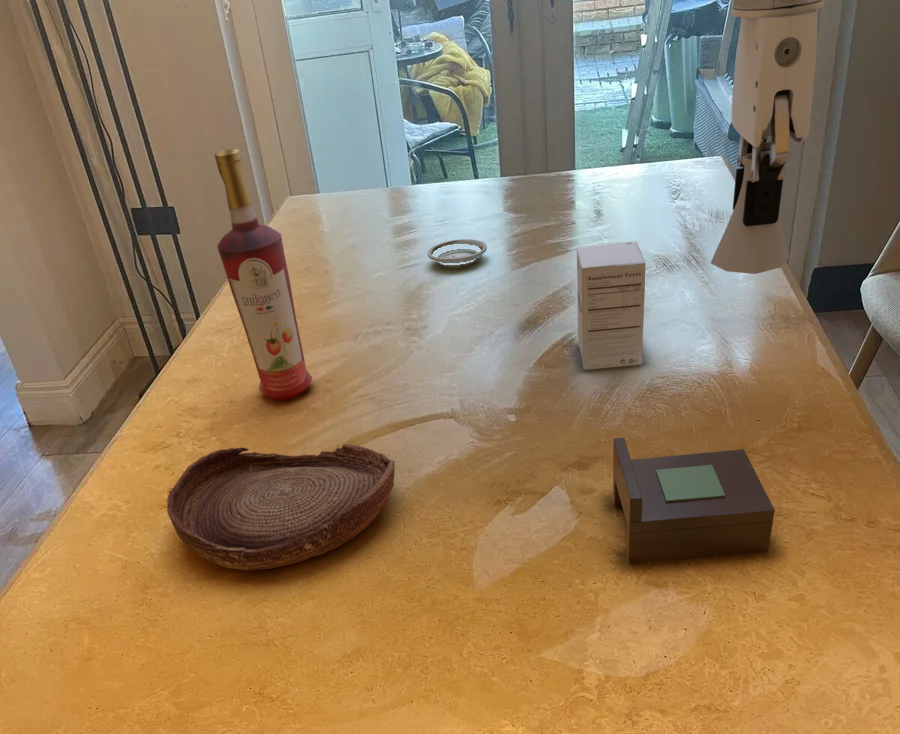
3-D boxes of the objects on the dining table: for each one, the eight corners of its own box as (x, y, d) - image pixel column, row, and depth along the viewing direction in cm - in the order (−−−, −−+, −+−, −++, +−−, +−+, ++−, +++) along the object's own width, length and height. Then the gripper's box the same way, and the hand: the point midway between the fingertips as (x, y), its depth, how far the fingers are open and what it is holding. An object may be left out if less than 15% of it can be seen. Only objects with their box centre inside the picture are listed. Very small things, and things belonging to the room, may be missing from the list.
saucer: (500, 259, 137) (499, 244, 136) (456, 278, 133) (454, 262, 131) (460, 249, 143) (458, 234, 142) (417, 267, 139) (415, 252, 137)
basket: (392, 450, 94) (385, 410, 91) (411, 557, 79) (404, 513, 76) (191, 485, 93) (176, 446, 90) (170, 600, 78) (152, 557, 75)
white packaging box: (577, 346, 109) (575, 245, 101) (635, 340, 109) (638, 239, 100) (581, 371, 104) (580, 267, 96) (643, 366, 103) (647, 260, 95)
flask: (756, 281, 82) (769, 170, 76) (697, 267, 87) (704, 160, 81) (802, 259, 85) (818, 150, 79) (742, 246, 90) (752, 142, 84)
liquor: (315, 375, 112) (261, 140, 94) (317, 400, 106) (260, 154, 88) (260, 384, 111) (195, 150, 93) (259, 410, 106) (189, 165, 88)
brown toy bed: (738, 489, 81) (747, 425, 77) (768, 552, 73) (779, 485, 69) (612, 501, 82) (613, 438, 78) (628, 564, 74) (630, 498, 70)
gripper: (858, -7, 65) (819, 240, 77) (797, -25, 78) (772, 189, 89) (757, 7, 66) (734, 249, 77) (713, -14, 78) (699, 197, 90)
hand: (754, 215), depth 83 cm, fingers closed on flask, 3 cm apart
